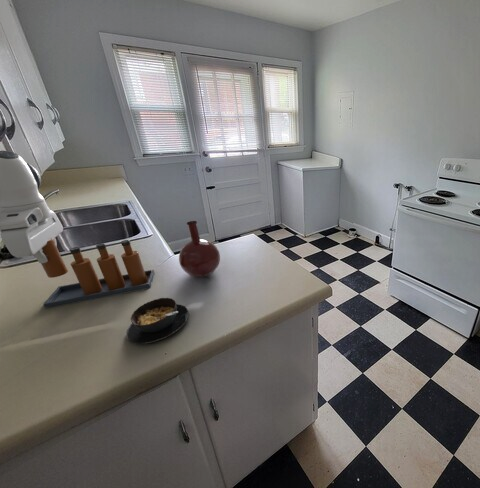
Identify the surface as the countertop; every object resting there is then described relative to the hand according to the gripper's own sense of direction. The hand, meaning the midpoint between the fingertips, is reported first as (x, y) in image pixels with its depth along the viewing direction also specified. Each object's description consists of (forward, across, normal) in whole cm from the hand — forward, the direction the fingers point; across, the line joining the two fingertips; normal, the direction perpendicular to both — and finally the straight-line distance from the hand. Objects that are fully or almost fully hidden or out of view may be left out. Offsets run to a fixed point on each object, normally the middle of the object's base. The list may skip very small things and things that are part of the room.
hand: (49, 257), depth 80 cm
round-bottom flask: (+15, +2, +40) cm, 42 cm away
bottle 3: (+14, 0, +20) cm, 24 cm away
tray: (+14, 0, +10) cm, 17 cm away
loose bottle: (+6, 0, 0) cm, 6 cm away
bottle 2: (+14, 0, +13) cm, 19 cm away
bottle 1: (+14, 0, +6) cm, 15 cm away
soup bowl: (+15, +27, +29) cm, 42 cm away
